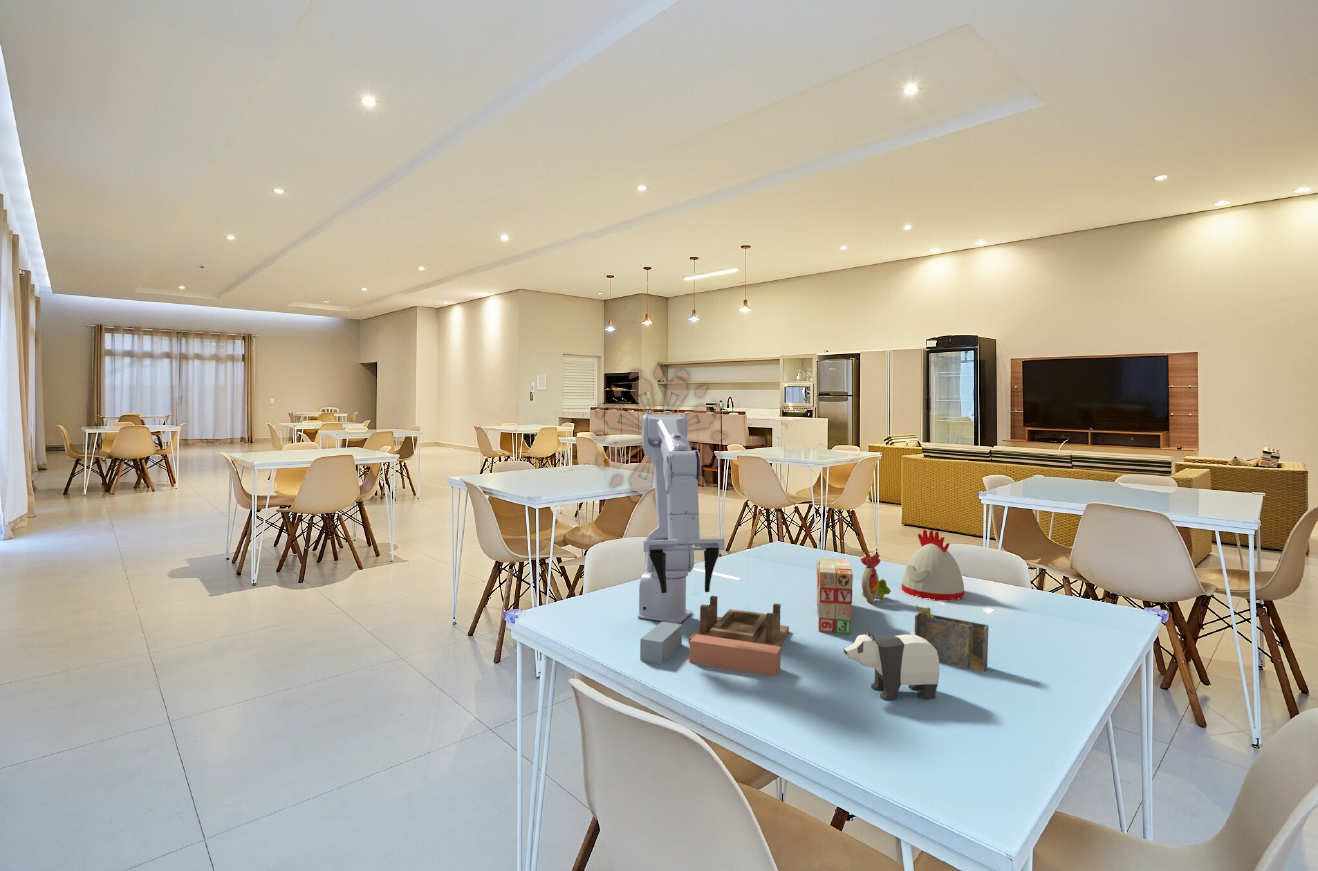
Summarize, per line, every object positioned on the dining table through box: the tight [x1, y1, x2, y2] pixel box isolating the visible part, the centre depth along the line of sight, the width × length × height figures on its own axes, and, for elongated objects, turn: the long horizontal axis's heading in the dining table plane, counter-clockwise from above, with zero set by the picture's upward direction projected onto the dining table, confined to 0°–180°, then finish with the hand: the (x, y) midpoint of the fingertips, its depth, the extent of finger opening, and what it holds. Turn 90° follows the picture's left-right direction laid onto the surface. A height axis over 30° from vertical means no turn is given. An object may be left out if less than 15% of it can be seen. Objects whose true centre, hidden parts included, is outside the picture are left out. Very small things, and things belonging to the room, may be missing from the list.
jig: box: [688, 595, 790, 647], centre depth 121 cm, size 16×14×6 cm
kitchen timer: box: [901, 529, 965, 601], centre depth 153 cm, size 14×14×15 cm
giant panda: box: [842, 629, 941, 701], centre depth 98 cm, size 15×6×10 cm, turn 93°
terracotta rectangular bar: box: [688, 634, 782, 677], centre depth 108 cm, size 15×4×4 cm, turn 68°
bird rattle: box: [860, 553, 892, 604], centre depth 146 cm, size 6×11×9 cm
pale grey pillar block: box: [639, 621, 683, 665], centre depth 113 cm, size 4×10×4 cm, turn 158°
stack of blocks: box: [816, 557, 854, 635], centre depth 134 cm, size 21×6×12 cm, turn 167°
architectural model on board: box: [914, 605, 989, 673], centre depth 110 cm, size 11×3×10 cm, turn 53°
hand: (685, 592), depth 112 cm, fingers open, 7 cm apart
